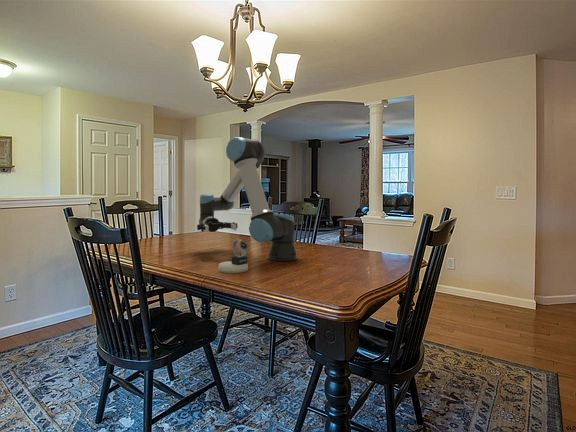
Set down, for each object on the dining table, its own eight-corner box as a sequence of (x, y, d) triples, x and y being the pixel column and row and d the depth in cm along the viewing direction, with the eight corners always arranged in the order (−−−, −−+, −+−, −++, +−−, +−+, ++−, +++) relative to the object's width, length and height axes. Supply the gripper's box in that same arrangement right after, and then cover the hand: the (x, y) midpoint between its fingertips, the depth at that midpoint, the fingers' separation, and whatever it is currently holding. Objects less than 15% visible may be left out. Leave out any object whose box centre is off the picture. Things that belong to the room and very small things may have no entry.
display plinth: (246, 266, 171) (246, 260, 171) (248, 272, 158) (248, 267, 158) (218, 266, 169) (218, 261, 169) (218, 273, 156) (218, 267, 156)
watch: (240, 266, 160) (240, 241, 159) (229, 263, 165) (229, 239, 164) (250, 264, 164) (250, 239, 163) (238, 261, 170) (238, 238, 169)
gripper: (234, 230, 199) (246, 234, 179) (187, 232, 188) (195, 237, 169) (234, 216, 198) (246, 219, 179) (187, 218, 187) (195, 221, 168)
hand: (221, 228), depth 174 cm, fingers open, 13 cm apart
